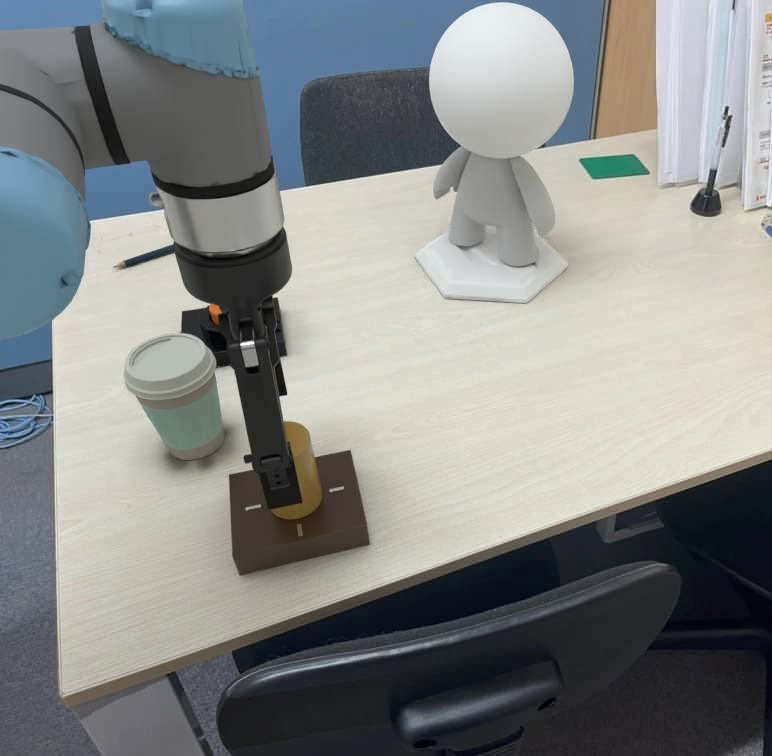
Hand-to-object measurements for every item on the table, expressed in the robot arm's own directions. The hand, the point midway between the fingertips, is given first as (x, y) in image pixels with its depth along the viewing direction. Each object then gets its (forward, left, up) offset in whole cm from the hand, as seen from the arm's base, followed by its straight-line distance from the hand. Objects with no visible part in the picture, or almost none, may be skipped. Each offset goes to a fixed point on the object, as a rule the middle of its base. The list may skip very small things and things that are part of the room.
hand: (278, 445), depth 63 cm
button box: (-5, +31, -11) cm, 33 cm away
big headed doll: (+32, +40, -11) cm, 53 cm away
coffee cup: (-9, +14, -11) cm, 20 cm away
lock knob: (0, 0, -8) cm, 8 cm away
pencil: (-14, +55, -11) cm, 58 cm away
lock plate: (0, 0, -11) cm, 11 cm away
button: (-5, +31, -7) cm, 32 cm away
